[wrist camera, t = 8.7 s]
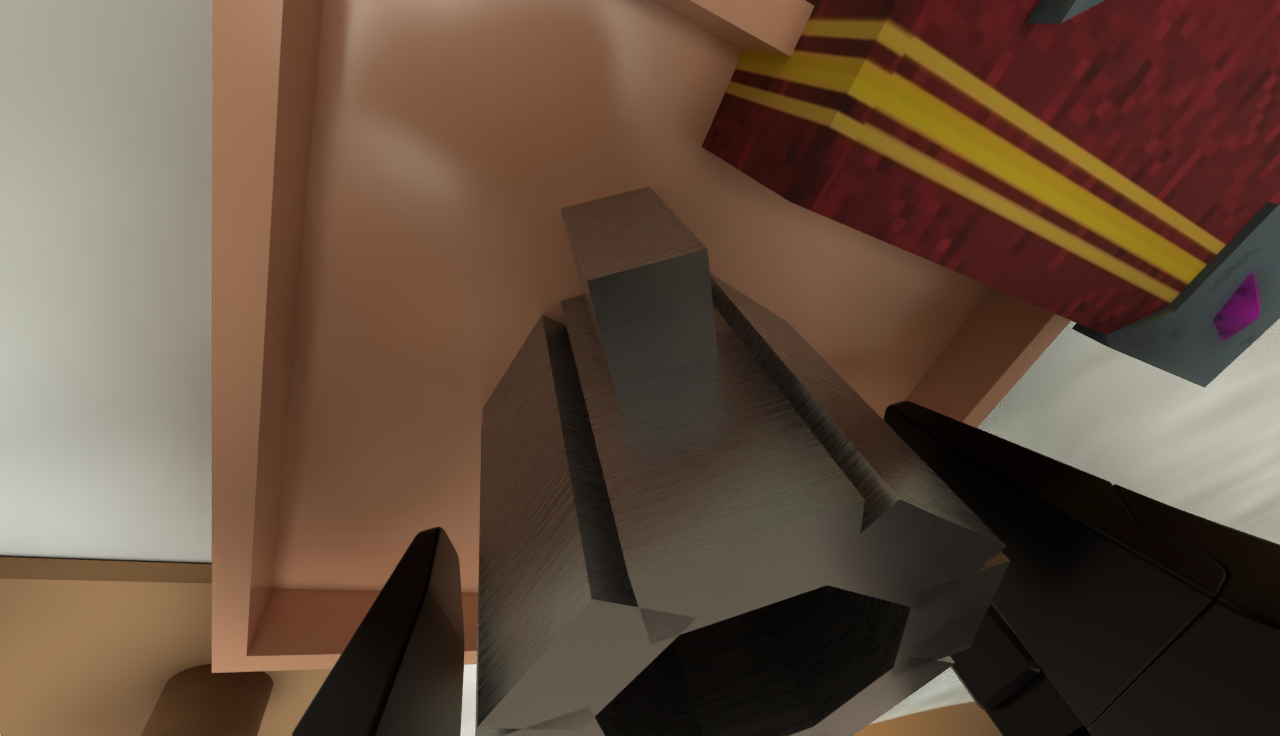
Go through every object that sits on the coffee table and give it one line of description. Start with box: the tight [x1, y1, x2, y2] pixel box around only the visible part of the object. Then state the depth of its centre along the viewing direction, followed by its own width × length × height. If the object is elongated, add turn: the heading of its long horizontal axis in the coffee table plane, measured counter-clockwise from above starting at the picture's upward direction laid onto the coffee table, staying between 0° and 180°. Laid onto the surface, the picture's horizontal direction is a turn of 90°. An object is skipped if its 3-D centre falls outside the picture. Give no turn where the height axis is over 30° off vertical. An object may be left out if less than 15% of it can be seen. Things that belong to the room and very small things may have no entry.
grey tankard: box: [475, 187, 1010, 736], centre depth 9 cm, size 9×7×6 cm
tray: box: [212, 0, 1071, 673], centre depth 11 cm, size 15×15×2 cm
